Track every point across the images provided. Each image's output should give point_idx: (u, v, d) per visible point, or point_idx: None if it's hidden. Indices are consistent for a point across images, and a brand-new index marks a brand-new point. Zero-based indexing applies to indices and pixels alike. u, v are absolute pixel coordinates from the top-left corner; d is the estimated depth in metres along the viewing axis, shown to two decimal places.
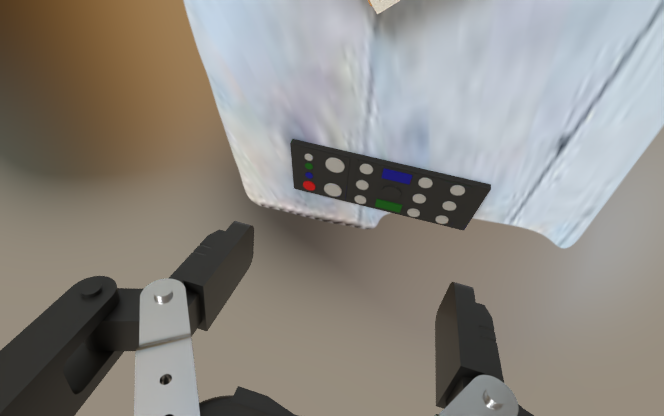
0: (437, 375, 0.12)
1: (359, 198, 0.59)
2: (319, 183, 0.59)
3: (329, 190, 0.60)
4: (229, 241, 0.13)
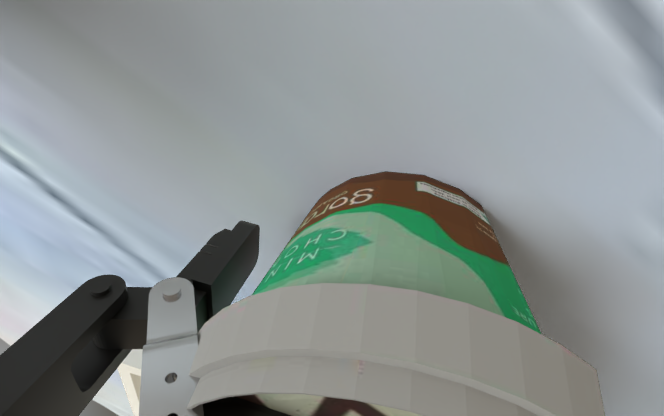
0: None
1: None
2: None
3: None
4: (235, 240, 0.13)
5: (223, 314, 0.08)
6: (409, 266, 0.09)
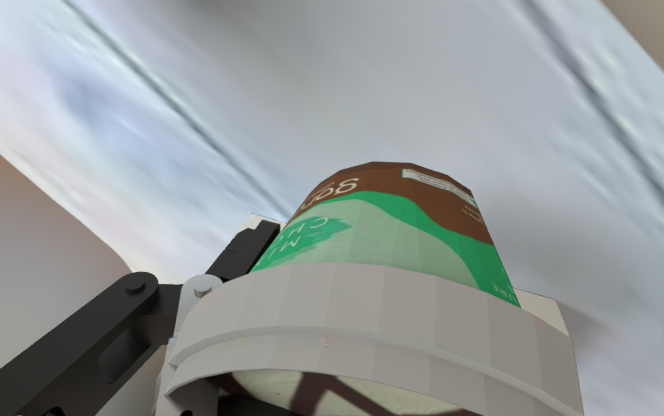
0: None
1: None
2: None
3: None
4: (259, 239, 0.13)
5: (202, 301, 0.08)
6: (385, 247, 0.09)
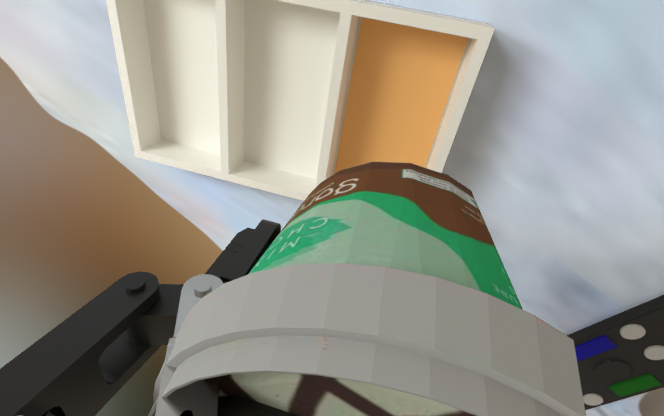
0: None
1: (589, 399, 0.41)
2: None
3: None
4: (259, 239, 0.13)
5: (201, 303, 0.08)
6: (385, 247, 0.08)
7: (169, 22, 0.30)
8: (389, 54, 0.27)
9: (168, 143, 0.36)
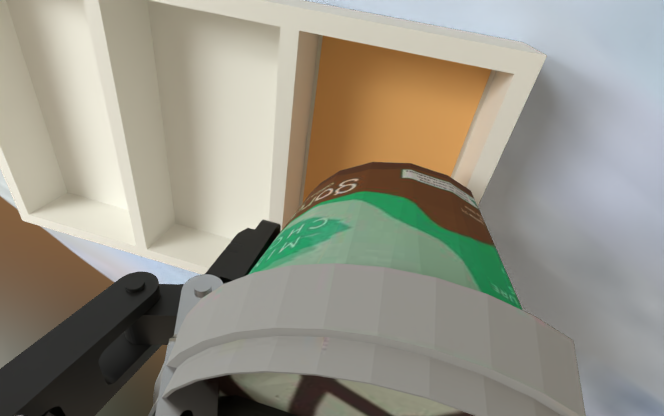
0: None
1: None
2: None
3: None
4: (260, 239, 0.13)
5: (201, 303, 0.08)
6: (385, 248, 0.08)
7: (48, 37, 0.21)
8: (368, 88, 0.18)
9: (75, 198, 0.27)
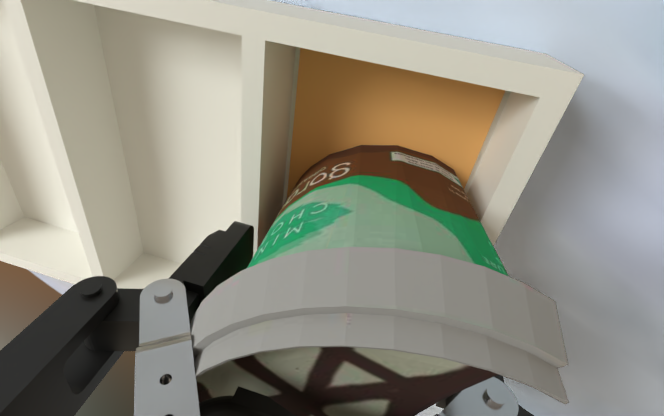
0: None
1: None
2: None
3: None
4: (229, 241, 0.13)
5: (219, 290, 0.09)
6: (387, 229, 0.09)
7: None
8: (357, 107, 0.15)
9: (31, 224, 0.24)
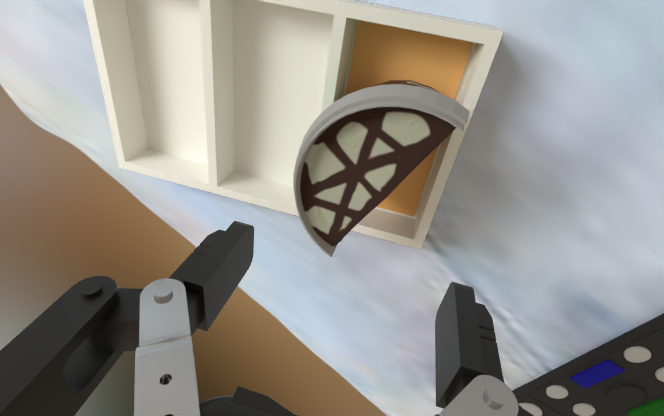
0: (437, 375, 0.12)
1: None
2: None
3: None
4: (229, 241, 0.13)
5: (322, 113, 0.20)
6: None
7: (153, 25, 0.28)
8: (388, 60, 0.25)
9: (155, 153, 0.34)
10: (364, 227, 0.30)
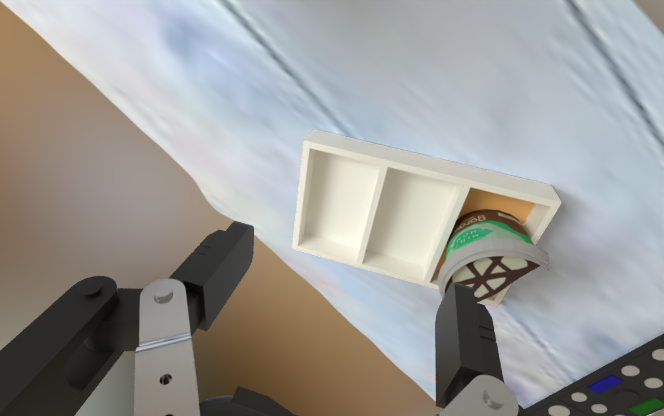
0: (437, 375, 0.12)
1: None
2: None
3: None
4: (229, 241, 0.13)
5: (463, 248, 0.36)
6: (505, 236, 0.37)
7: (330, 167, 0.45)
8: (485, 198, 0.42)
9: (310, 236, 0.51)
10: None
